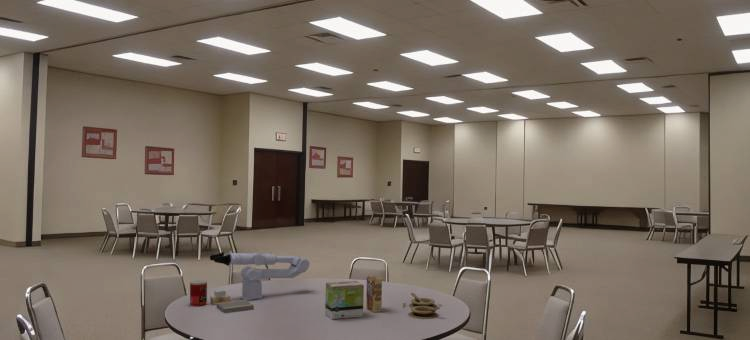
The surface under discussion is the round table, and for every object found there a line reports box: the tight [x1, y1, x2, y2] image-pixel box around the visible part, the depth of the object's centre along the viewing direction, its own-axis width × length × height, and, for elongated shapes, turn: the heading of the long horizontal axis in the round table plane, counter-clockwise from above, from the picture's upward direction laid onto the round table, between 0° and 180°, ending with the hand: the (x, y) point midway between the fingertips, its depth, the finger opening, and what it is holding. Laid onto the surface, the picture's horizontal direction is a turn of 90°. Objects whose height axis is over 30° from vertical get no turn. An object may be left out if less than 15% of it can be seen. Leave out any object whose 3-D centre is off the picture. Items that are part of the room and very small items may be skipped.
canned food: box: [189, 279, 208, 307], centre depth 276 cm, size 8×8×11 cm
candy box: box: [365, 275, 383, 313], centre depth 267 cm, size 9×4×15 cm, turn 26°
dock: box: [216, 299, 255, 314], centre depth 268 cm, size 14×12×2 cm
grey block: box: [213, 289, 227, 297], centre depth 279 cm, size 4×4×3 cm
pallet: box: [209, 293, 231, 306], centre depth 279 cm, size 8×5×4 cm, turn 122°
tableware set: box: [402, 292, 443, 320], centre depth 266 cm, size 30×20×6 cm, turn 177°
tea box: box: [324, 280, 365, 320], centre depth 256 cm, size 15×10×15 cm, turn 114°
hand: (212, 258), depth 280 cm, fingers open, 7 cm apart
